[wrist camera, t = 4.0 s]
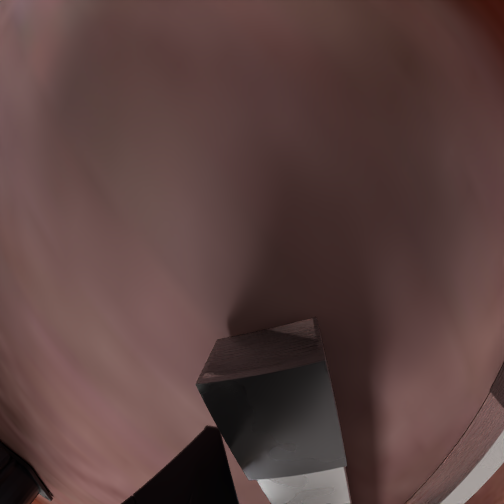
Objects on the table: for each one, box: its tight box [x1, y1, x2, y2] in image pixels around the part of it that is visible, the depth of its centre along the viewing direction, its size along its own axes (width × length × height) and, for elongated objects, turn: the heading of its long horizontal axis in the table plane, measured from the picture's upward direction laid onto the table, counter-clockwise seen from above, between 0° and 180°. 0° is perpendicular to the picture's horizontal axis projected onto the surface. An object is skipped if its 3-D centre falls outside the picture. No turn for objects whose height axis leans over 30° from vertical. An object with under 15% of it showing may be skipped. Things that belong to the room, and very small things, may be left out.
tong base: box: [406, 364, 504, 504], centre depth 7 cm, size 14×3×2 cm, turn 171°
